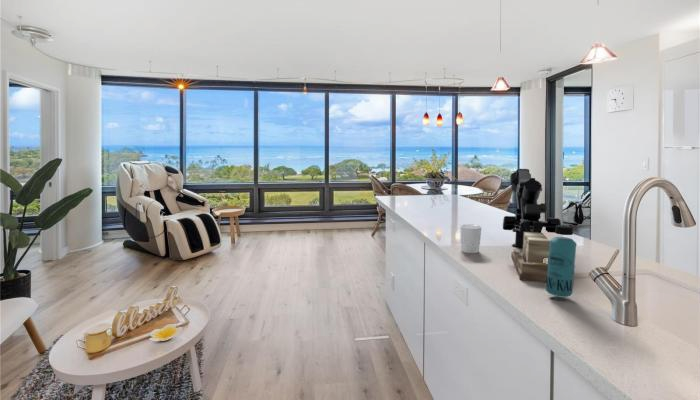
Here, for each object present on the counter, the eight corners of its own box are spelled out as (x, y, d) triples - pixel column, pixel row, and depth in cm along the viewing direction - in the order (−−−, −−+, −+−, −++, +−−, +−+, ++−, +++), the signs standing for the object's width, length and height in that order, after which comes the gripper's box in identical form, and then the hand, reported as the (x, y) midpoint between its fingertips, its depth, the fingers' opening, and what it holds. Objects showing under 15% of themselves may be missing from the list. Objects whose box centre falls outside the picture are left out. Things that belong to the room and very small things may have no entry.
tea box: (522, 256, 135) (523, 231, 133) (541, 257, 133) (542, 232, 132) (527, 267, 122) (529, 240, 121) (548, 268, 120) (550, 241, 119)
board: (511, 256, 141) (512, 243, 140) (546, 259, 137) (547, 245, 137) (520, 279, 116) (520, 263, 116) (563, 283, 113) (564, 266, 112)
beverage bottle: (546, 291, 107) (551, 222, 104) (573, 296, 103) (579, 224, 100) (543, 299, 101) (548, 226, 99) (571, 304, 98) (577, 229, 95)
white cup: (481, 254, 145) (482, 228, 143) (460, 253, 146) (461, 228, 145) (478, 249, 152) (480, 224, 151) (458, 248, 154) (459, 224, 153)
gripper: (504, 194, 139) (506, 229, 130) (561, 196, 133) (567, 232, 124) (502, 212, 147) (503, 246, 138) (555, 214, 142) (560, 250, 133)
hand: (532, 243), depth 133 cm, fingers closed, pressing on tea box
